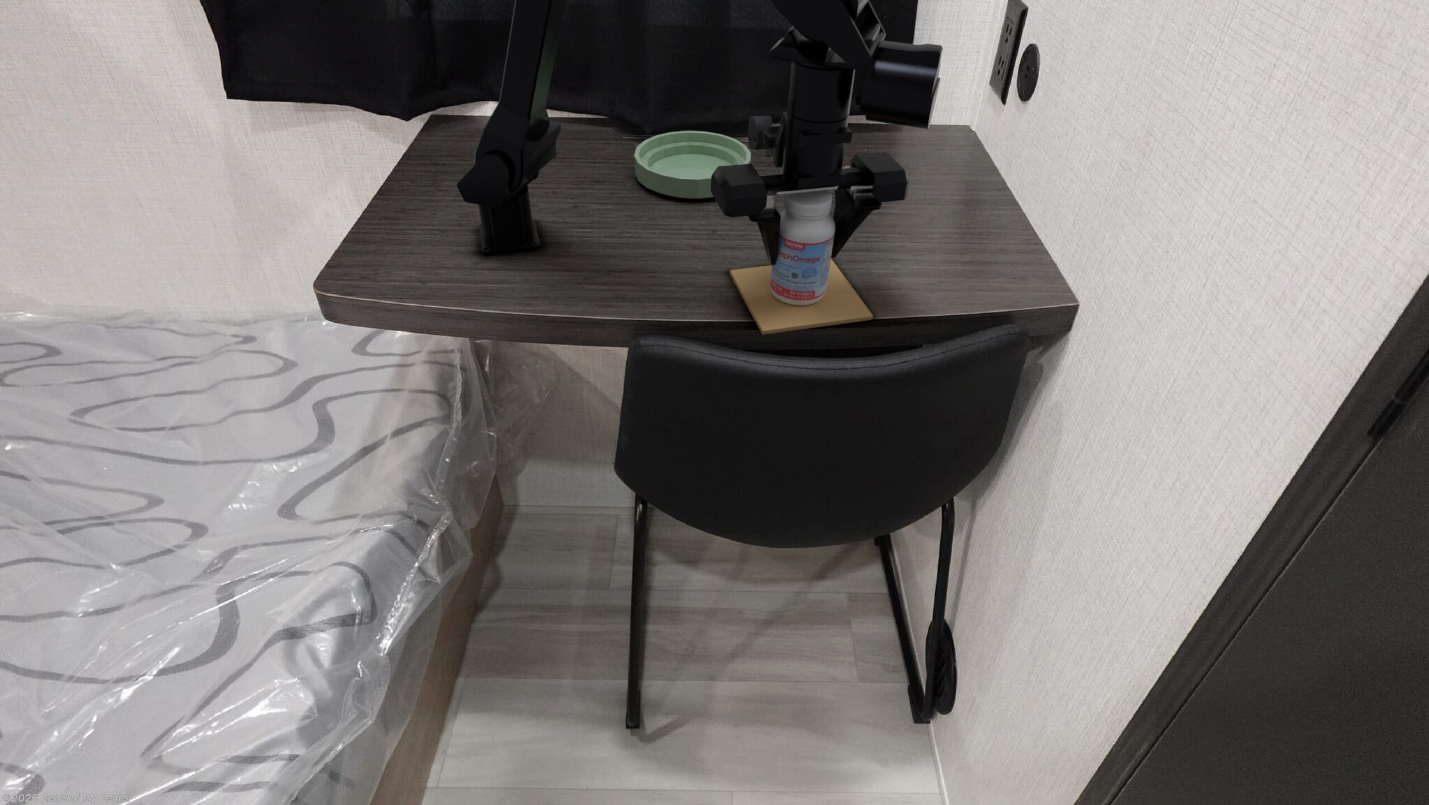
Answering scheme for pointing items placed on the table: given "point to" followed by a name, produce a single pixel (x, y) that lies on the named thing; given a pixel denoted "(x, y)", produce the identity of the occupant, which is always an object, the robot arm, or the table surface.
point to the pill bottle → (803, 248)
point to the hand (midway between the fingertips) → (801, 259)
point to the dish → (686, 161)
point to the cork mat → (783, 317)
